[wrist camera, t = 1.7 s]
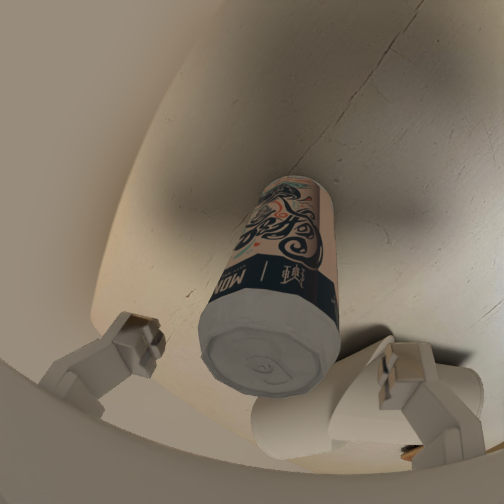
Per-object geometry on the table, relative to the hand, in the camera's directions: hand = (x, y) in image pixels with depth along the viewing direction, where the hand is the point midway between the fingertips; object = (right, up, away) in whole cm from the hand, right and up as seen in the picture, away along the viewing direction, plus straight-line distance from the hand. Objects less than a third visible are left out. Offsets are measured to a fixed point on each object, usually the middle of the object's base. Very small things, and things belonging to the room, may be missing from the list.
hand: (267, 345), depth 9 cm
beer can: (+2, +6, +9) cm, 11 cm away
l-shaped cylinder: (+13, -10, +16) cm, 23 cm away
